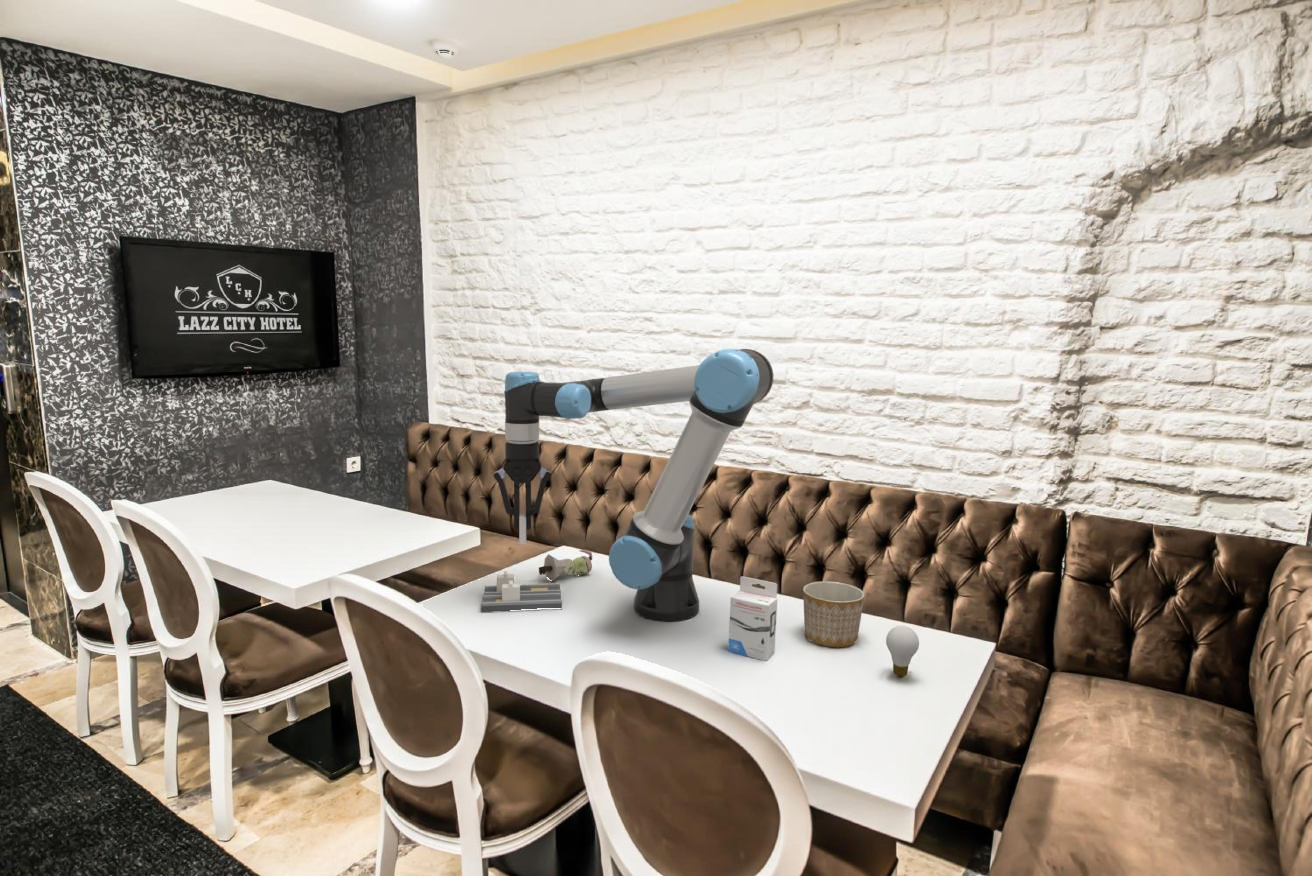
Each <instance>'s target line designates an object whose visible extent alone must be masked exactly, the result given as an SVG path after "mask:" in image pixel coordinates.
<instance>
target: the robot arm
mask: <svg viewBox="0 0 1312 876" xmlns="http://www.w3.org/2000/svg"><path fill="white" fill-rule="evenodd" d="M774 377H775V375H774V370H773V367H772V365H771V362H770V361H769V359H768V358H767V357H766V356H765V355H764V354H763V353H761V352H759V351H757V350H755V349H750V348H741V349H737V348H724V349H721V350H718V351H715V352H713V353H712V354H710V355H708V356H707V357H706V358H704V359H703V360H702V362H701V363H700V364H697V365H691V366H690V365H689V366H682V367H676V368H669V369H667V368H666V369H660V370H653V371H645V372H638V373H637V372H636V373H630V374H624V375H615V376H609V377H600V378H589V379H584V380H578V381H568V382H546V381H545V382H544V381H540V375H539V373H538V372H534V371H533V372H532V371H511V372H508V373H507V374H506V375H505V377H504V379H505V380H504V391H503V393H504V407H505V408H504V410H505V420H504V421H505V422H504V438H505V440H506V443H504V448H505V450H504V452H505V455H504V456H505V457H504V458H505V459H504V460H505V461H504V463H503V466H502V467H501V468H500V469H498V470H495V471H493V472H494V473H493V477H494V479H495V480H496V482H497V483H498V487H499V491H500V494H501V498H502V502H503V507H504V510H505V512H506V514H508V515H512V516H513V523H514V524H513V528H514V531H519V532H518V533H519V535H518V536H519V539H518V541H519V546H526V545H527V531H528V530H531V528H532V516H533V515H535V514H538V513H539V512H540V509H541V505H542V501H543V496H544V493H545V489H546V485H547V482H548V481H549V479H550V478H551V476H552V473H551V471H550V470H549V469H545V468H543V467H542V463H541V461H540V442H539V440H540V417H549V418H550V417H551V418H561V419H562V418H563V419H566V420H572V419H584V418H585V417H587V416H586V415H587V414H589V413H595V412H604V411H610V410H611V411H612V410H621V409H629V408H630V409H631V408H639V407H647V406H655V405H656V406H657V405H667V404H675V403H684V402H686V403H687V402H689V406H690V408H691V411H692V412H691V414H690V416H689V418H688V420H687V422H686V424H685V426H684V428H683V431H682V432H681V434H680V437H678V438H679V439H678V440H677V442H676V445H675V446H674V448H673V450H672V453H671V455H670V457H669V458H668V461H667V463H666V465H665V466H664V469H663V471H662V473H661V475H660V477H659V479H658V481H657V482H656V483H657V484H656V485H655V487H654V490H653V491H652V493H651V495H650V497H649V499H648V501H647V503H646V506H645V508H644V510H640V511H637V512H635V513H634V514H633V516H632V518H631V520H630V522H629V524H628V526H627V528H626V530H625V532H624V534H623V535H622V536H621V537H618V538H617V540H616V541H615V542H614V543H613V544H612V545H611V547H610V549H609V552H608V563H609V566H610V568H611V572H612V574H613V575H614V577H615V578H616V579H617V580H618V582H620V584H622V585H623V586H625V587H627V588H629V589H633V590H637V591H636V593H635V596H634V599H633V610H634V612H635V613H636V614H637V615H639V616H641V617H643V618H645V619H649V620H654V621H660V622H677V621H683V620H688V619H691V618H693V617H695V616H696V615H698V614H699V611H700V599H699V596H698V593H697V589H696V586H695V581H694V579H693V572H694V571H693V567H694V542H695V531H696V529H695V519H694V517H693V516H692V515H691V514H689V513H690V511H691V510H692V507H693V505H694V504H695V502H696V500H697V498H698V495H699V494H700V492H701V490H702V488H703V486H704V484H705V482H706V480H707V478H708V477H709V474H710V473H711V471H712V468H713V467H714V465H715V463H716V461H717V459H718V457H719V455H720V454H721V451H722V449H723V447H724V445H725V443H726V441H727V440H728V438H729V436H730V433H732V432H733V431H735V430H738V429H741V428H742V427H743V425H744V423H745V421H746V419H747V418H748V416H749V413H750V412H751V410H752V408H753V406H754V405H755V404H757V403H759V402H761V401H762V400H763V399H765V398H766V397H767V396H768V394H769V393H770V391H771V389H772V388H773V383H774ZM505 473H506V475H507V476H508V477H509V479H510V480H511V481H512V482H513V507H512V504H511V501H510V497H509V493H508V489H507V486H506V481H505V477H506V475H505ZM538 474H539V477H540V481H539V486H538V488H537V489H538V490H537V494H536V498H535V502H534V506H533V507H532V481H534V479H535V478H536V477H537V476H538ZM521 483H525V513H520V511H521V510H520V508H521V507H520V504H521V502H520V501H521V500H520V499H521V498H520V495H521V494H520V491H521V489H520V485H521Z"/></svg>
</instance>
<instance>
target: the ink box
mask: <svg viewBox="0 0 1312 876" xmlns="http://www.w3.org/2000/svg"><path fill="white" fill-rule="evenodd" d="M758 584H759V586H761V587H764V588H760V587H757V586H753V585H758ZM739 589H740V590H738V591H737V592H735V593H734V594H732V595H731V596H730V604H729V605H730V608H729V623H728V624H729V626H728V647H727V650H728V652H730V653H734V654H737V655H741V656H745V657H749V658H753V659H757V660H760V661H764V662H766V661H768V660H769V659H770V658H771V657H772V655H773V654H774V653H775V649H776V634H777V633H776V632H777V613H778V612H777V611H778V598H777V595H778V584H777V583H776V582H772V581H767V580H762V579H757V578H753V577H747V576H744V575H743V576H740V577H739Z"/></svg>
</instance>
